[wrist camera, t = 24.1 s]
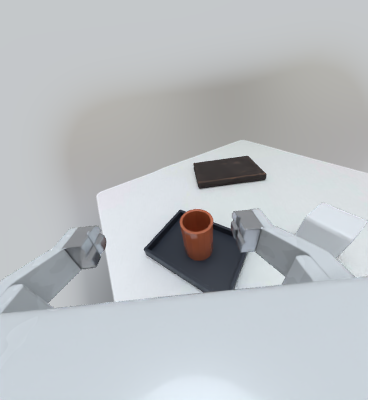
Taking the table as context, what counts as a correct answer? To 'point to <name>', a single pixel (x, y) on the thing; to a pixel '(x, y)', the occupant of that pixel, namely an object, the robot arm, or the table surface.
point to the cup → (197, 234)
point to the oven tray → (205, 269)
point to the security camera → (330, 228)
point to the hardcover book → (227, 171)
